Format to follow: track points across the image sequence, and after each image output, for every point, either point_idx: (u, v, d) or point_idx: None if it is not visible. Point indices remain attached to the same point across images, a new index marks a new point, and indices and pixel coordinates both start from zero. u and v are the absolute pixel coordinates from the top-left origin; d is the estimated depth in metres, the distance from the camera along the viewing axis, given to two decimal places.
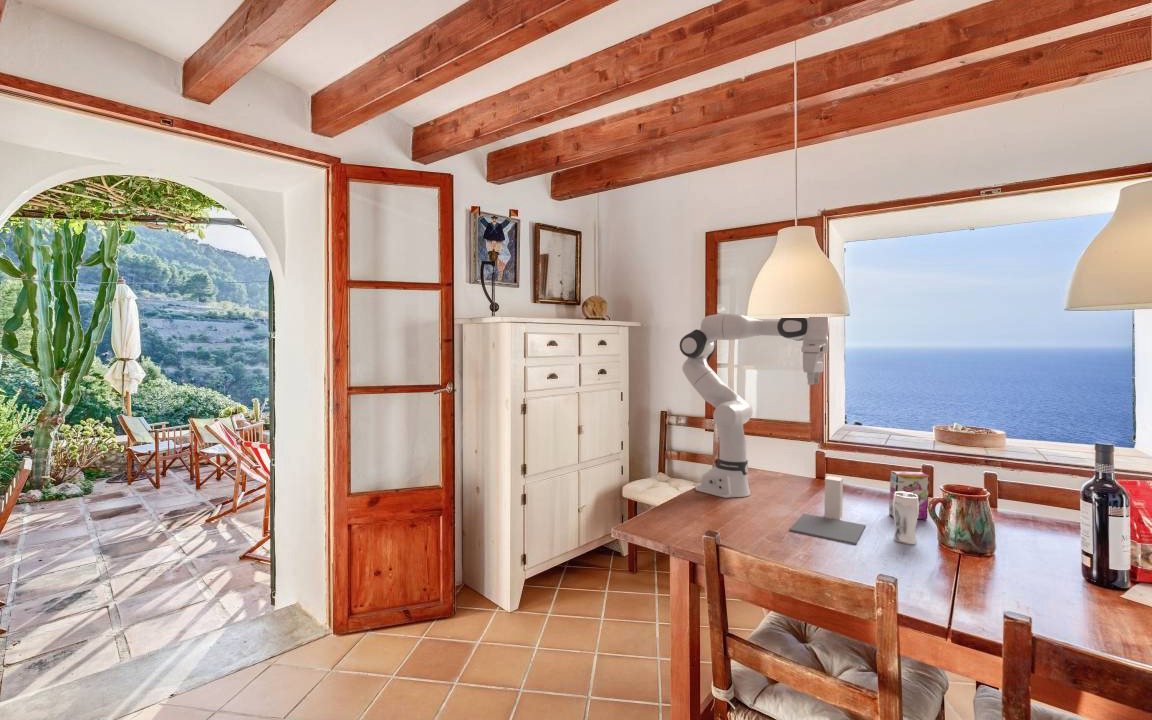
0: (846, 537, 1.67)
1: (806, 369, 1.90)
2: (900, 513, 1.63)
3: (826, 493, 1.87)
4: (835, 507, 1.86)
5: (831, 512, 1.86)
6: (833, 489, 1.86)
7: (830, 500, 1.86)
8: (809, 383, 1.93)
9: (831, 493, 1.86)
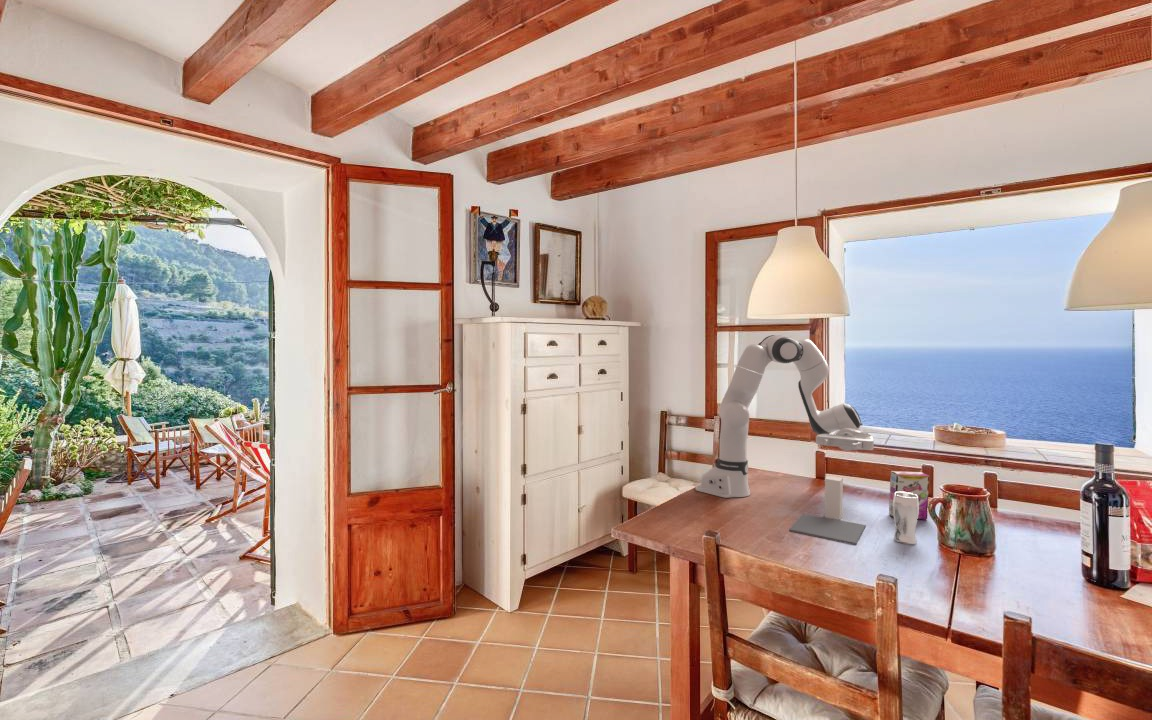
0: (846, 537, 1.67)
1: (873, 443, 1.96)
2: (900, 513, 1.63)
3: (826, 493, 1.87)
4: (835, 507, 1.86)
5: (831, 512, 1.86)
6: (833, 489, 1.86)
7: (830, 500, 1.86)
8: (857, 445, 1.94)
9: (831, 493, 1.86)
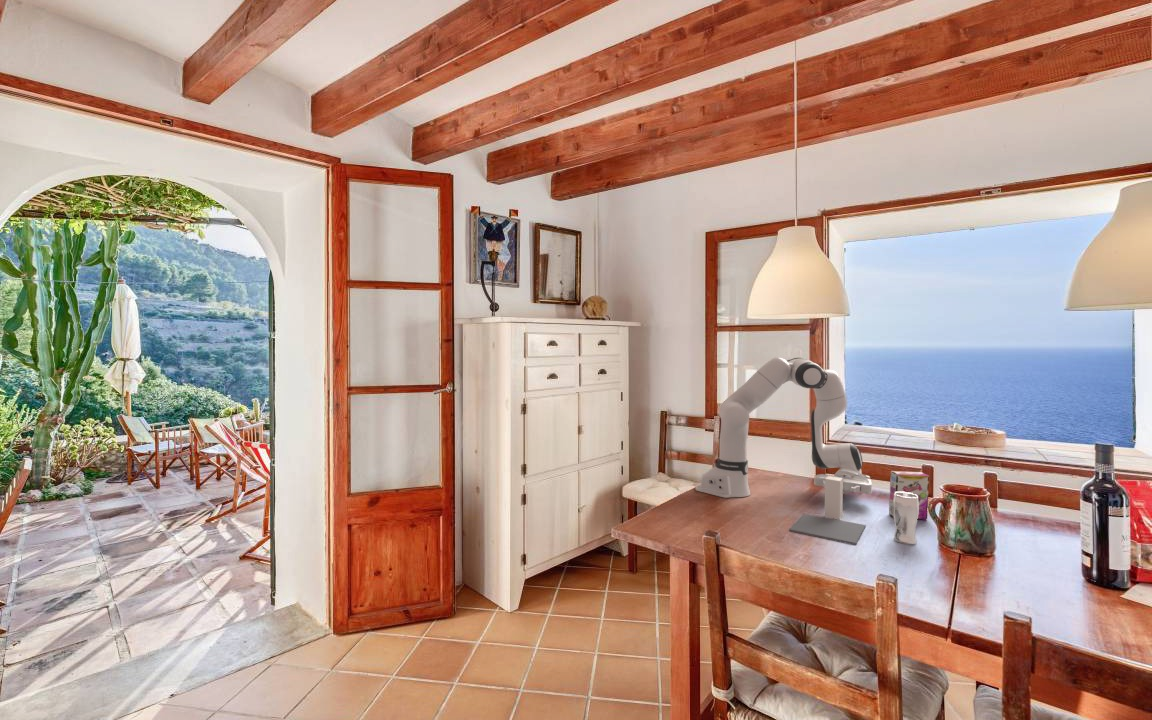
0: (846, 537, 1.67)
1: (871, 487, 1.95)
2: (900, 513, 1.63)
3: (826, 493, 1.87)
4: (835, 507, 1.86)
5: (831, 512, 1.86)
6: (833, 489, 1.86)
7: (830, 500, 1.86)
8: (855, 489, 1.94)
9: (831, 493, 1.86)
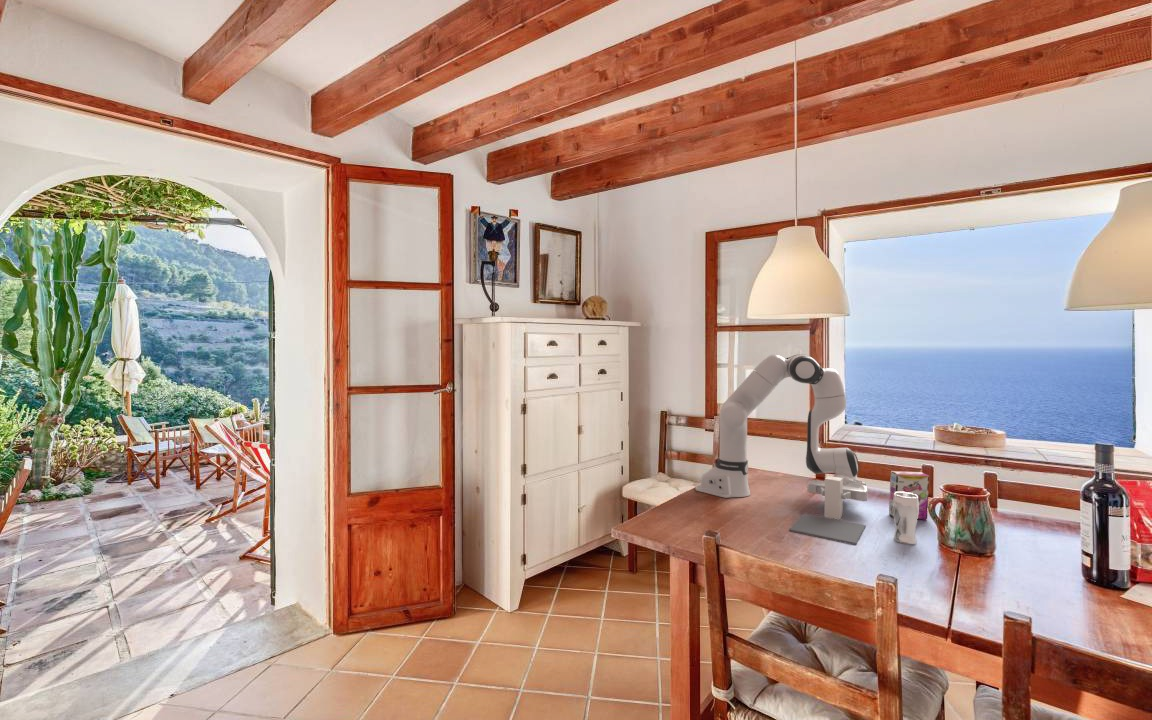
0: (846, 537, 1.67)
1: (867, 494, 1.86)
2: (900, 513, 1.63)
3: (826, 493, 1.87)
4: (835, 507, 1.86)
5: (831, 512, 1.86)
6: (833, 489, 1.86)
7: (830, 499, 1.86)
8: (845, 496, 1.85)
9: (831, 493, 1.86)
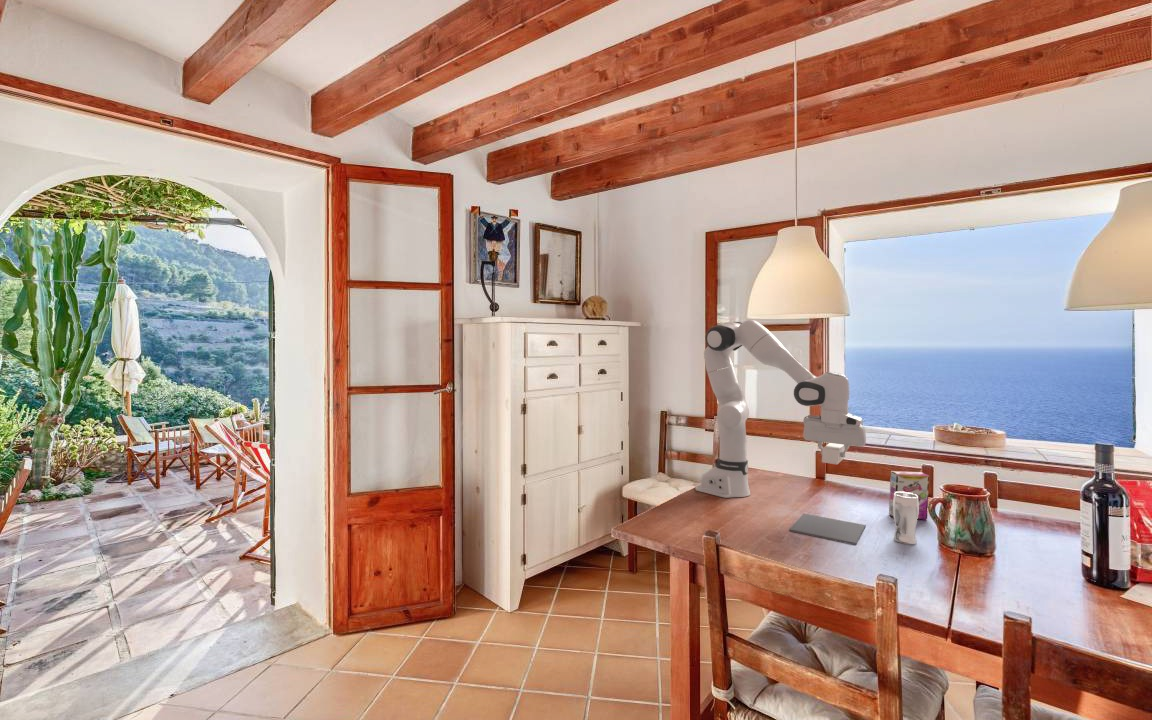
0: (846, 537, 1.67)
1: (865, 443, 1.79)
2: (900, 513, 1.63)
3: None
4: None
5: None
6: None
7: None
8: (845, 455, 1.84)
9: None
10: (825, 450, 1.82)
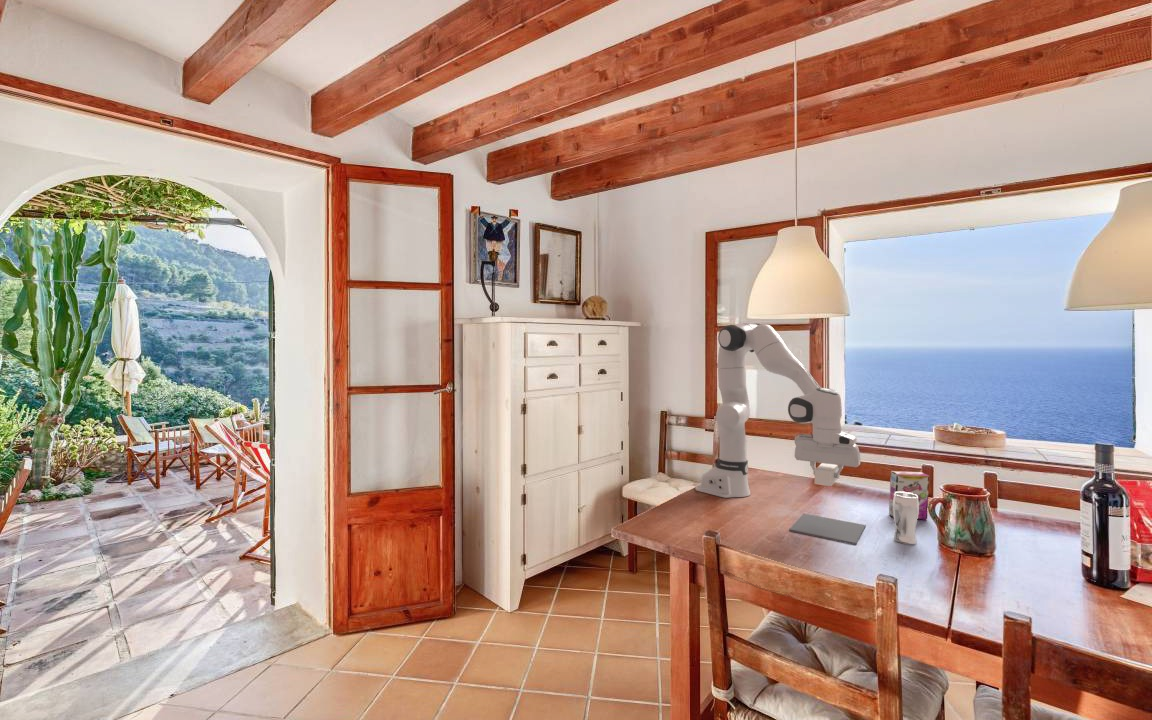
0: (846, 537, 1.67)
1: (859, 463, 1.70)
2: (900, 513, 1.63)
3: None
4: None
5: None
6: None
7: None
8: (838, 476, 1.74)
9: None
10: (817, 471, 1.73)
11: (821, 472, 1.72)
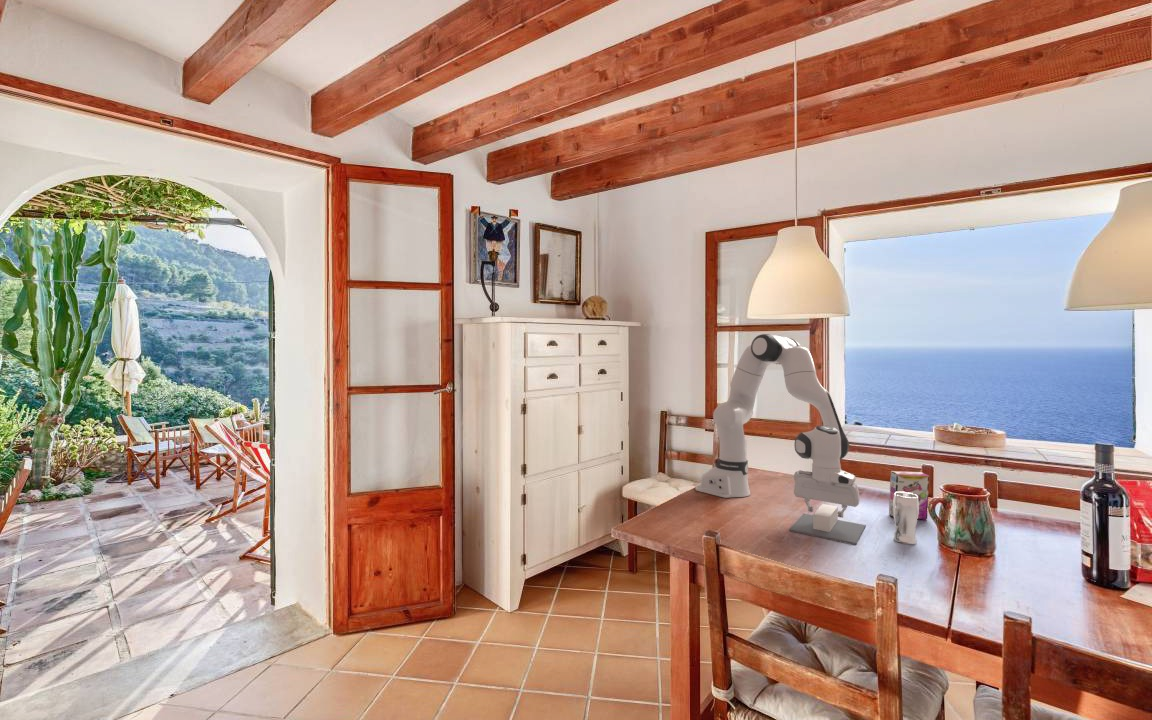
0: (846, 537, 1.67)
1: (858, 503, 1.70)
2: (900, 513, 1.63)
3: None
4: None
5: None
6: None
7: None
8: (842, 516, 1.74)
9: None
10: (816, 516, 1.73)
11: (820, 517, 1.73)
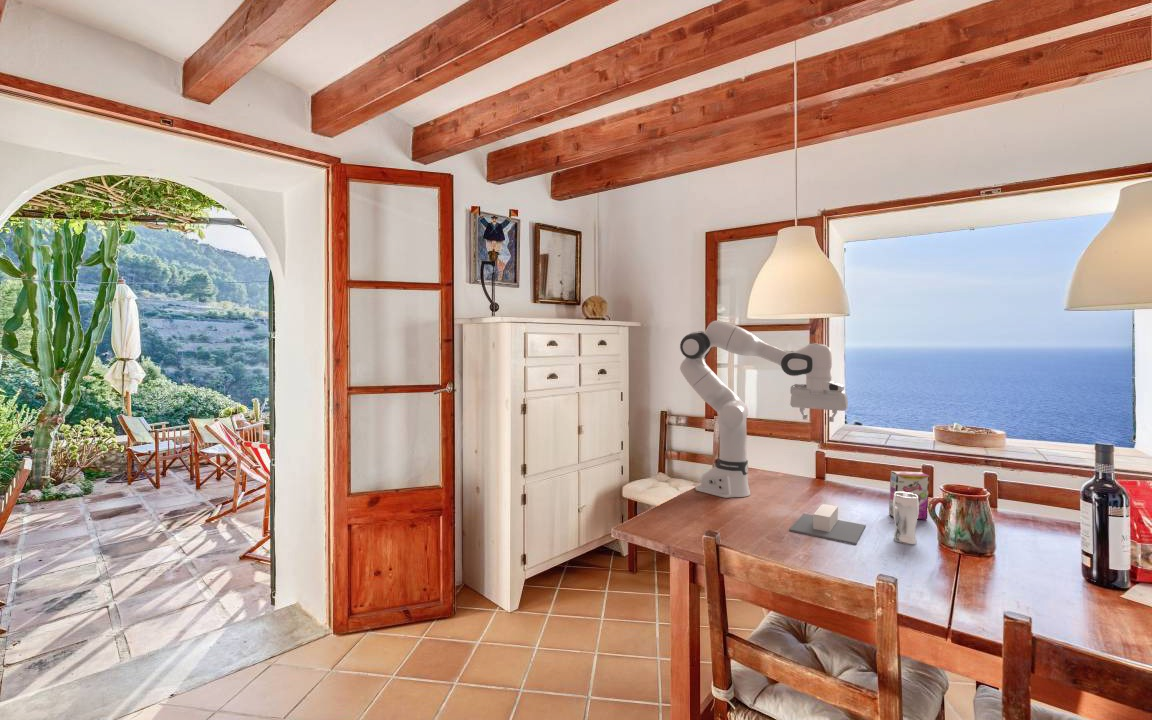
0: (846, 537, 1.67)
1: (846, 407, 1.94)
2: (900, 513, 1.63)
3: None
4: None
5: None
6: None
7: None
8: (833, 420, 1.97)
9: None
10: (816, 516, 1.73)
11: (820, 517, 1.73)
